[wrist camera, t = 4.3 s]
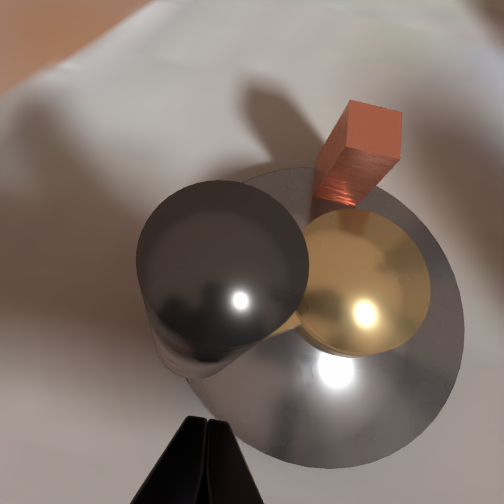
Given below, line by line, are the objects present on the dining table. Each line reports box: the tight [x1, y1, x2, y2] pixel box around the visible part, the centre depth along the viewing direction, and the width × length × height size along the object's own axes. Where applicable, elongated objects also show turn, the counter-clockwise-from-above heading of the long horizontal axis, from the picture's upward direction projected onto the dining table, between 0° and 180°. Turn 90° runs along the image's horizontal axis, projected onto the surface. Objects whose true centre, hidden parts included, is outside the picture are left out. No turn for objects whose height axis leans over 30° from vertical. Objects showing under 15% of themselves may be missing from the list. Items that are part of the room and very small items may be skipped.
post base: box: [187, 100, 464, 469], centre depth 17 cm, size 12×12×5 cm
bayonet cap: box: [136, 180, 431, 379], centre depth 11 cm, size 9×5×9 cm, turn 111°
